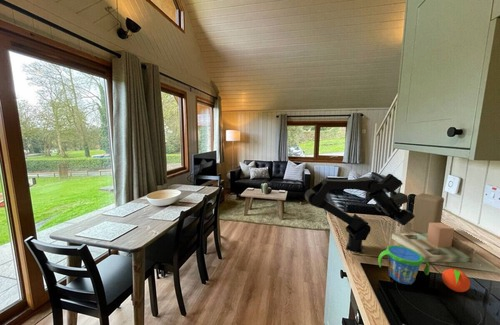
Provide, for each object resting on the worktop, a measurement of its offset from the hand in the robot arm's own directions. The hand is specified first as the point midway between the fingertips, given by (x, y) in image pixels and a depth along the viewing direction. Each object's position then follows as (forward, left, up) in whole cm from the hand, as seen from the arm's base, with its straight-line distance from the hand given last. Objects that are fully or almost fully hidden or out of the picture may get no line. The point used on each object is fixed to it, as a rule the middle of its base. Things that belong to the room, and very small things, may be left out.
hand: (404, 223), depth 96 cm
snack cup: (-25, +1, -12) cm, 28 cm away
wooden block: (+28, -12, -12) cm, 33 cm away
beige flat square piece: (+7, -10, -12) cm, 17 cm away
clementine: (-22, -14, -13) cm, 29 cm away
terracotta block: (+9, -14, -10) cm, 20 cm away
